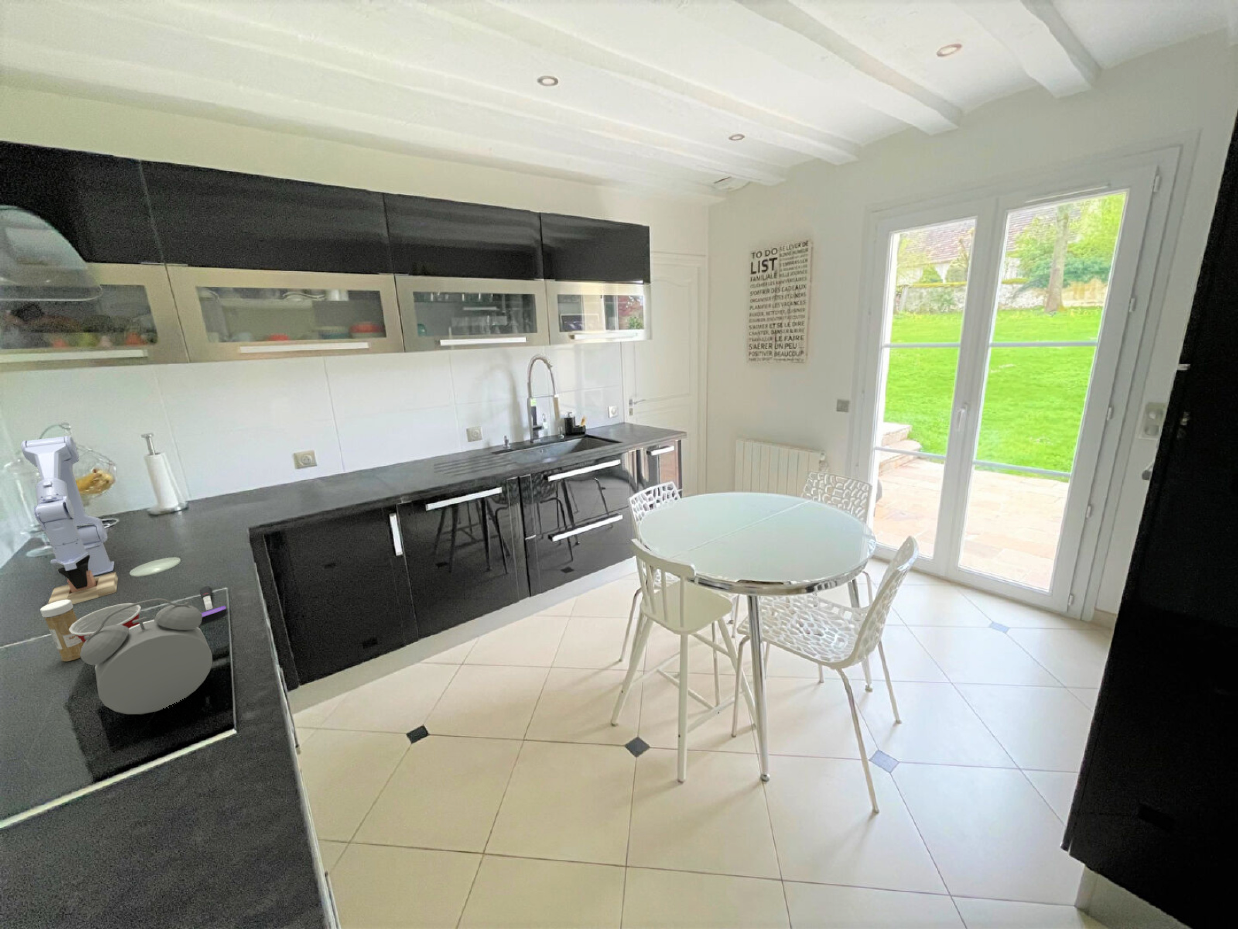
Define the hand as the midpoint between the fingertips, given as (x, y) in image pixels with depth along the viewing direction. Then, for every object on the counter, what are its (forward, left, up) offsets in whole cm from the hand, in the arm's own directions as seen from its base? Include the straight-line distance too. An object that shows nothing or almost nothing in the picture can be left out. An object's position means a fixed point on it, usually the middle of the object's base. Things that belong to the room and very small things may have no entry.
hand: (83, 584), depth 137 cm
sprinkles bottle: (+43, +1, -3) cm, 43 cm away
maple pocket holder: (0, 0, -3) cm, 3 cm away
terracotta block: (0, 0, -3) cm, 3 cm away
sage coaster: (-7, +15, -3) cm, 17 cm away
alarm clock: (+81, +16, -3) cm, 83 cm away
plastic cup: (+56, +9, -3) cm, 57 cm away
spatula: (+38, +25, -4) cm, 45 cm away
